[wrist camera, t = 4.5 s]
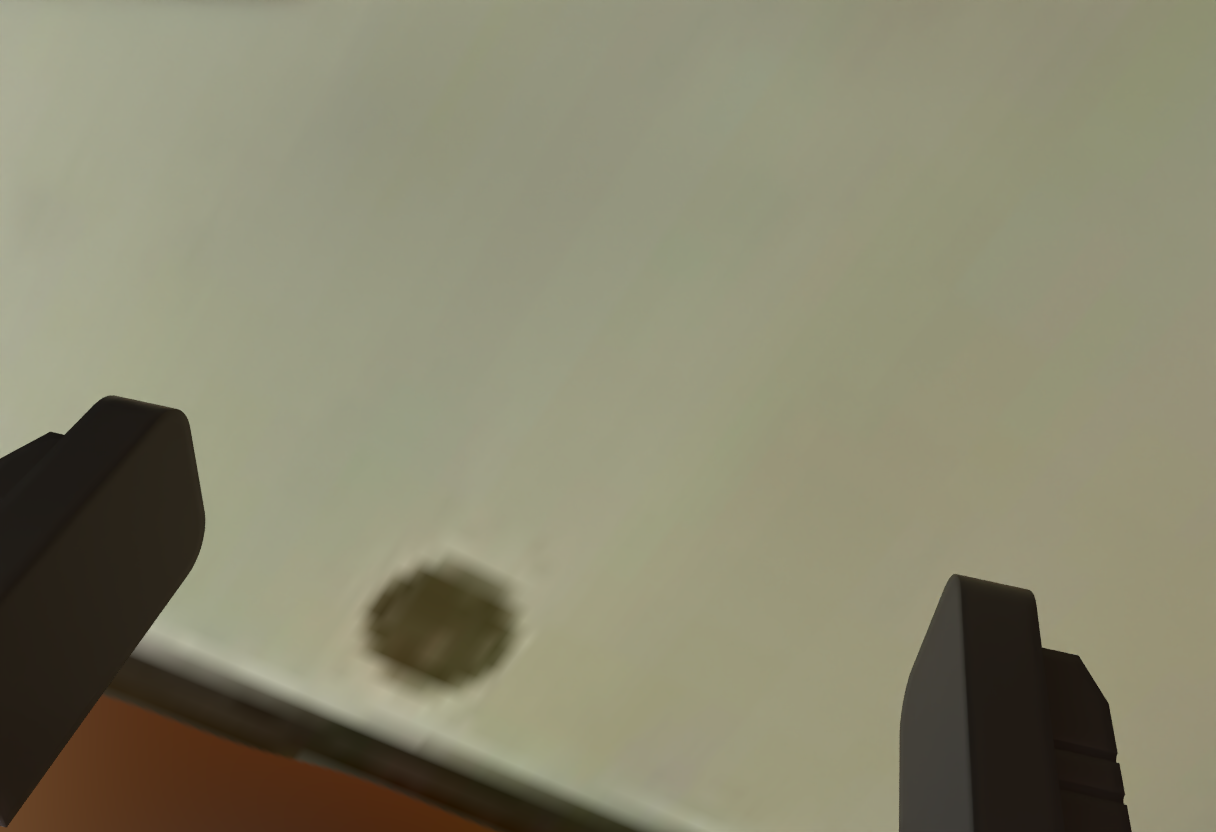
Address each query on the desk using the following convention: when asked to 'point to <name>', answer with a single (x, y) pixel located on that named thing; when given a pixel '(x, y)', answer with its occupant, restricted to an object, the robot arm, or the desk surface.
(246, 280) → the desk surface
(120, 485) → the robot arm
